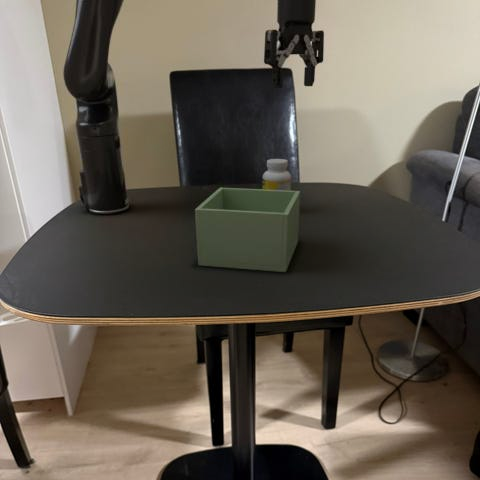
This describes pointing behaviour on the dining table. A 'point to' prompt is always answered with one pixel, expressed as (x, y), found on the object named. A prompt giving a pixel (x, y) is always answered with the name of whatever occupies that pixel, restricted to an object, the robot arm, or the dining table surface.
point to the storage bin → (248, 229)
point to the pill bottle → (277, 175)
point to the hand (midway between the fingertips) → (293, 87)
